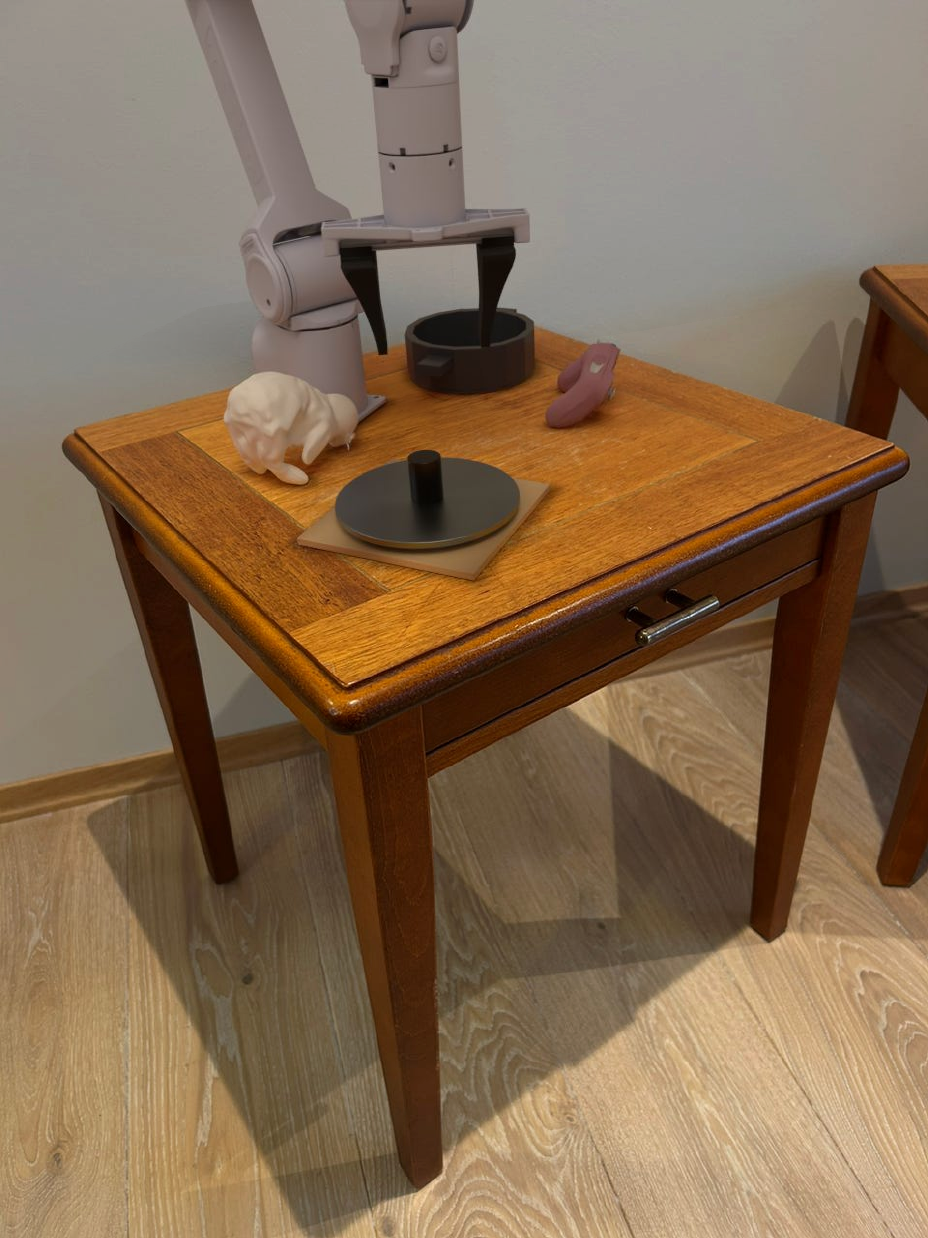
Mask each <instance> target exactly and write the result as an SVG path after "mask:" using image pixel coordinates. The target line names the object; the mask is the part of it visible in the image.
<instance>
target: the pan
mask: <svg viewBox="0 0 928 1238" xmlns="http://www.w3.org/2000/svg"><path fill="white" fill-rule="evenodd" d="M517 311H518V310H517V308H509V307H500V306H499V307H498V306H497V309H496V313H495V317H494V322H493V327H492V333H491V344H490V347H485V348H481V345H480V341H479V331H478V313H479V307H475V308H474V307H473V308H458V309H451V310H445V311H438V312H436V313H432V314H428V315H425V316H423V317H420V318H419V317H418V318H417V319H416V320H414V321H413V322H411V323H410V324H408V325H407V326H406V328H405V332H404V343H405V355H406V366H407V374H408V376H409V379H410V381H411V382H412V383H413V384H414V385H416V386H417V387H419V388H422V389H423V390H427V391H429V392H436V393H441V394H448V395H449V394H450V395H476V394H477V395H481V394H489V393H495V392H499V391H503V390H506V389H510V388H513V387H516V386H518V385H520V384H523V383H524V382H527V380H529V379H530V378H531V377H532V376H533V375H534V373H535V370H536V363H535V361H536V360H535V357H536V355H535V321H534V320H533V319H531V318H530V317H529V316H527V315H525V314H524V313H520V312H517Z"/></svg>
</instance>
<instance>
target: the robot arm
mask: <svg viewBox="0 0 928 1238" xmlns="http://www.w3.org/2000/svg"><path fill="white" fill-rule="evenodd" d="M342 1H343V2H344V5H345V6H344V7H345V9H346V10H345V11H346V13H347V17H348V19H349V22H350V25H351V27H352V29H353V31H354V33H355V35H356V38H357V41H358V45H359V53H360V62H361V65H363V70H364V72H365V74H366V75H370V78H371V79H370V80H371V90H372V99H373V110H374V111H373V112H374V121H375V123H374V124H375V132H376V133H375V135H376V145H377V151H378V152H377V156H378V167H379V177H380V188H381V189H380V190H381V198H382V200H381V201H382V210H383V214H377V215H370V216H362V217H356V218H352V215H351V212H350V209H349V208H348V207H347V206H345V205H344V204H342V203H340V202H339V201H337V200H335V199H333V198H332V197H330V196H328V195H326V194H325V193H323V192H321V191H320V190H319V189H317V188H316V184H315V181H314V179H313V176H312V173H311V172H312V171H311V169H310V166H309V164H308V160H307V157H306V155H305V152H304V148H303V146H302V143H301V140H300V138H299V134H298V132H297V128H296V125H295V123H294V120H293V117H292V114H291V111H290V108H289V104H288V101H287V99H286V97H285V96H286V95H285V94H284V91H283V88H282V85H281V82H280V79H279V76H278V72H277V70H276V67H275V64H274V61H273V59H272V56H271V52H270V49H269V46H268V44H267V41H266V38H265V34H264V31H263V29H262V26H261V23H260V20H259V18H258V14H257V11H256V8H255V5H254V3H253V0H184V4H185V6H186V9H187V11H188V14H189V17H190V20H191V23H192V25H193V28H194V31H195V33H196V36H197V39H198V42H199V45H200V49H201V50H202V54H203V56H204V60H205V61H206V64H207V67H208V70H209V72H210V75H211V78H212V81H213V84H214V87H215V90H216V93H217V95H218V99H219V101H220V104H221V107H222V109H223V112H224V115H225V118H226V121H227V124H228V127H229V130H230V132H231V135H232V137H233V140H234V144H235V146H236V149H237V152H238V155H239V157H240V160H241V163H242V166H243V168H244V171H245V174H246V176H247V180H248V182H249V185H250V188H251V191H252V193H253V197H254V200H255V202H256V204H257V209H256V211H255V213H254V214H253V215H252V217H251V218H250V220H249V222H248V223H247V224H246V226H245V227H244V229H243V231H242V234H241V235H240V239H239V242H238V245H239V251H240V254H241V257H242V261H243V265H244V271H245V278H246V279H245V280H246V285H247V290H248V293H249V296H250V298H251V301H252V304H253V305H254V307H255V309H256V310H257V311H258V312H259V314H260V315H261V316H262V317H261V318H260V319H259V320H258V321H257V323H256V325H255V327H254V329H253V331H252V332H253V333H252V338H251V354H252V355H251V356H252V361H253V368H254V372H255V373H254V374H258V373H262V372H278V373H282V374H285V375H290V376H293V377H296V378H299V379H301V380H303V381H305V382H307V383H309V385H310V386H312V387H314V388H316V389H318V390H319V391H320V392H321V393H324V394H341V395H344V396H346V397H348V398H349V399H350V400H351V401H352V402H353V404H354V405H355V407H356V409H357V412H358V423H360V422H361V421H362V420H364V419H365V418H367V417H368V416H369V415H371V414H372V413H374V412H375V411H377V409H379V408H380V407H381V406H383V405H384V404H386V402H387V397H386V396H384V395H379V394H378V395H377V394H370V393H368V390H367V382H366V381H367V380H366V372H365V364H364V355H363V347H362V346H363V345H362V338H361V337H362V336H361V329H360V321H359V320H360V319H359V314H361V313H364V314H365V317H366V319H367V321H368V324H369V326H370V329H371V332H372V335H373V338H374V341H375V345H376V350H377V355H378V356H387V355H389V352H388V351H389V349H388V347H389V346H388V337H387V328H386V322H385V316H384V312H383V306H382V299H381V289H380V277H379V267H378V266H379V265H378V255H377V252H379V251H393V250H406V249H407V250H408V249H421V248H434V247H447V246H448V247H449V246H462V245H475V248H476V249H475V250H476V264H477V277H478V278H477V282H478V308H479V313H478V331H479V341H480V345H481V348H485V347H490V344H491V333H492V327H493V322H494V317H495V313H496V309H497V307H498V306H499V301H500V299H501V296H502V293H503V290H504V288H505V285H506V283H507V280H508V278H509V276H510V274H511V271H512V269H513V267H514V266H515V265H514V264H515V262H516V258H517V249H516V247H515V244H526V243H527V244H528V243H530V241H531V240H530V239H531V237H530V236H531V232H530V231H531V230H530V229H531V226H530V225H531V224H530V222H531V221H530V213H529V211H528V210H527V208H526V207H523V208H522V207H521V208H466V197H465V195H466V193H465V176H464V175H465V173H464V155H463V153H464V152H463V134H462V133H463V132H462V131H463V130H462V114H461V113H462V111H461V90H460V88H461V87H460V69H459V68H460V67H459V65H460V64H459V46H458V45H459V43H458V35H459V34H460V32H462V31H463V30H464V29H465V28H466V25H467V24H468V22H469V20H470V18H471V15H472V14H473V13H472V12H473V10H474V4H475V0H342Z"/></svg>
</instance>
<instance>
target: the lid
mask: <svg viewBox="0 0 928 1238" xmlns="http://www.w3.org/2000/svg"><path fill="white" fill-rule="evenodd" d="M383 465H384V464H383ZM383 465H380V466H378V467H375V468H372V469H370V470H368V471H366V472H363V473H362V474H360V475H358V476H356V477H355V478H353V479H352V480H350V481H349V482H348V483H346V484H345V486H343V487H342V489H341V490H340V491H339V492H338V494H337V496H336V498H335V501H334V502H335V503H334V506H335V513H336V517H337V520H338V522H339V523H340V525H341V526H342V527H343V528H344V529H345V530H346V531H347V532H349V533H350V534H352V535H353V536H355V537H357V538H360V539H362V540H364V541H367V542H370V543H374V544H378V545H382V546H388V547H394V548H406V549H424V548H437V547H445V546H451V545H456V544H460V543H464V542H468V541H471V540H474V539H477V538H480V537H483V536H485V535H487V534H489V533H492V532H493V531H495V530H497V529H499V528H500V527H502V526H503V525H504V524H506V523H507V522H508V521H509V520H510V519H511V518H512V517H513V516H514V514H515V513H516V512H517V509H518V507H519V504H520V491H519V488H518V485H517V483H516V482H515V481H514V479H513V478H514V477H512V476H511V475H510V474H509V473H507V472H505V471H504V470H502V469H500V468H499V467H496V466H494V465H491V464H488V463H485V462H482V461H478V460H473V459H467V458H459V457H446V456H444V457H443V456H441V453H440V452H438V451H436V450H433V449H419V450H415V451H413V452H411V453H409V454H408V455H407V458H406V460H402V461H399V462H395V463H391V464H387V465H384V466H383Z"/></svg>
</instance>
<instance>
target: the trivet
mask: <svg viewBox="0 0 928 1238" xmlns="http://www.w3.org/2000/svg"><path fill="white" fill-rule="evenodd" d="M399 461H403V460H401V459H397V458H396V459H394V458H390V459H389V460H388V461H386V463H384V464H383V465H382V466H384V465H387V464H391V463H395V462H399ZM512 478H513V479H514V481H515V482H516V483H517V485H518V488H519V491H520V504H519V507H518V509H517V512H516V513H515V514H514V516H513V517H512V518H511V519H510V520H509V521H508V522H507V523H506V524H504V525H503V526H502V527H500V528H499V529H497V530H495V531H493V532H492V533H489V534H487V535H485V536H483V537H480V538H477V539H474V540H471V541H468V542H464V543H460V544H456V545H451V546H445V547H437V548H424V549H406V548H394V547H388V546H382V545H378V544H374V543H370V542H367V541H364V540H362V539H360V538H357V537H355V536H353V535H352V534H350V533H349V532H347V531H346V530H345V529H344V528H343V527H342V526H341V525H340V523H339V522H338V520H337V517H336V513H335V505H334V506H333V507H332V508H331V509H329V510H328V511H327V512H326V513H325V514H323V515H322V516H321V517H319V519H318V520H316V521H315V522H314V523H313V524H311V525H310V526H309V527H308V528H306V529H305V530H304V531H303V532H302V533H300V535H298V536H297V537H296V540H297V545H298V546H301V547H307V548H312V549H318V550H322V551H327V552H333V553H337V554H341V555H347V556H350V557H351V556H352V557H356V558H360V559H366V560H370V561H375V562H381V563H386V564H390V565H394V566H395V565H396V566H400V567H405V568H410V569H415V570H420V571H423V572H424V571H425V572H430V573H435V574H439V575H444V576H448V577H453V578H454V577H455V578H459V579H463V580H467V581H468V580H469V581H473V582H474V581H475V580H476V579H477V578H478V577H479V575H480V574H481V573H482V572H483V571H484V569H486V568H487V566H488V565H489V564H490V563H491V561H492V560H493V559H494V558H495V557H496V556H497V554H498V553H499V552H500V551H501V550H502V548H504V546H505V544H506V543H507V542H508V541H509V540H510V539H511V538H512V536H513V535H514V534H515V533H516V532H517V531H518V530H519V528H520V527H521V526H522V525H523V523H525V521H526V520H527V519H528V518H529V517H530V515H531V514H532V513H533V512H534V510H535V509H537V507H538V506H539V505H540V504H541V502H542V501H543V500H544V499H545V498H546V497H547V496H548V494H549V493H550V492H551V483H547V482H541V481H535V480H527V479H522V478H517V477H516V478H515V477H512Z"/></svg>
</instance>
